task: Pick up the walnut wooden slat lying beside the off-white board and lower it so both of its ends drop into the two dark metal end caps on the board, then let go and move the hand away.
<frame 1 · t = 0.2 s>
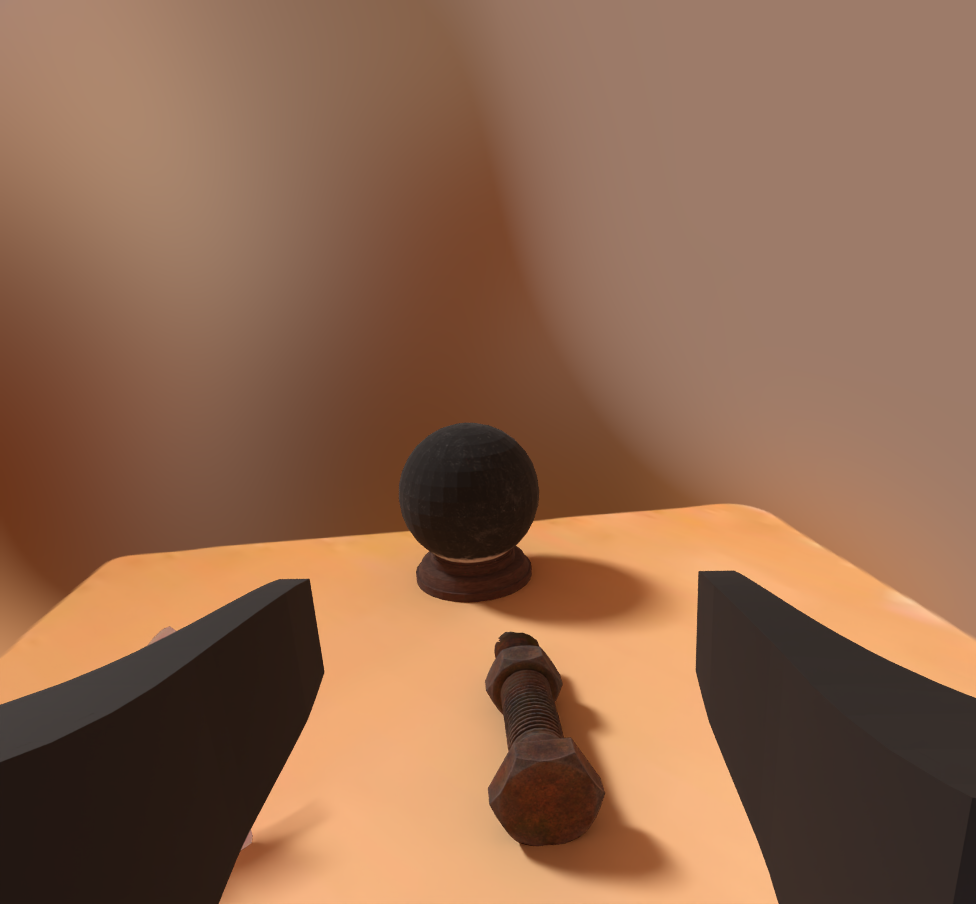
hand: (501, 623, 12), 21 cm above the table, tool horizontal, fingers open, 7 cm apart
black ball on stand: (474, 576, 62), on the table
bolt: (532, 745, 39), on the table
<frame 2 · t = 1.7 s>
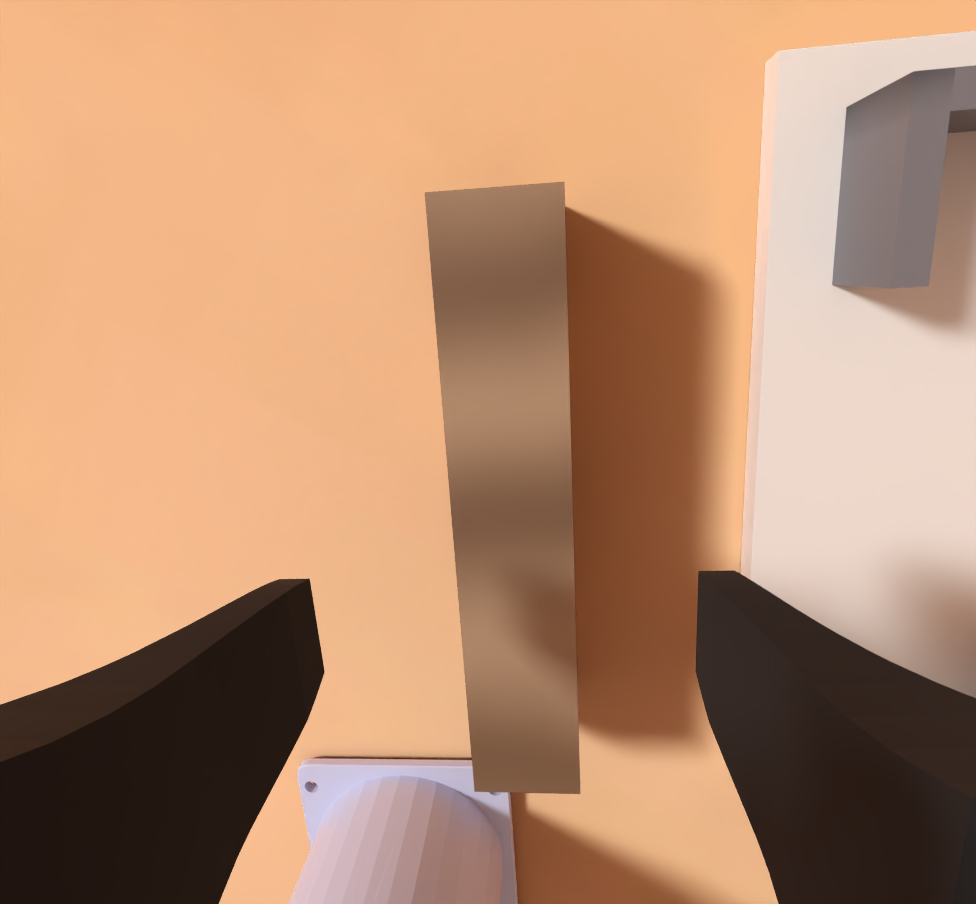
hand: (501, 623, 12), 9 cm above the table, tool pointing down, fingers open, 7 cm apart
slat: (520, 470, 20), on the table
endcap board: (917, 458, 19), on the table
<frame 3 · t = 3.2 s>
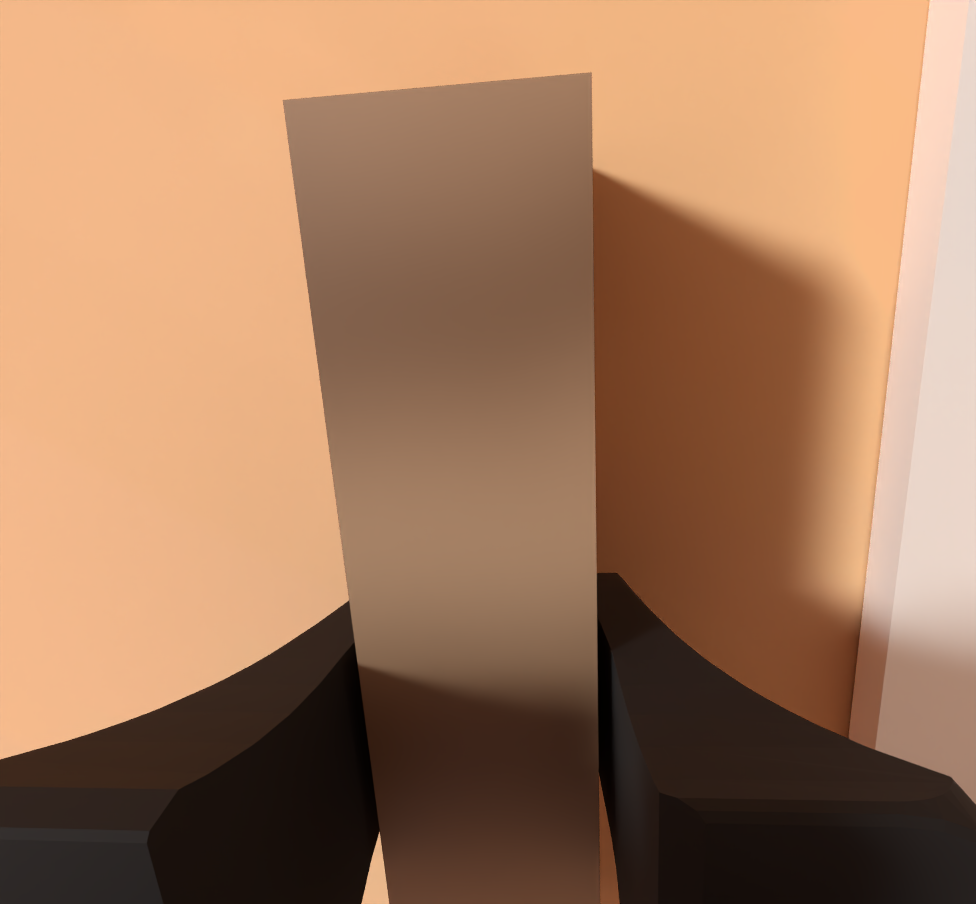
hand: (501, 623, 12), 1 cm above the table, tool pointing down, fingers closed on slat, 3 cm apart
slat: (505, 585, 13), on the table, touching gripper
when the fingers open (3 cm above the table, at t = 6.0 s): slat stays where it is, resting on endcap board.
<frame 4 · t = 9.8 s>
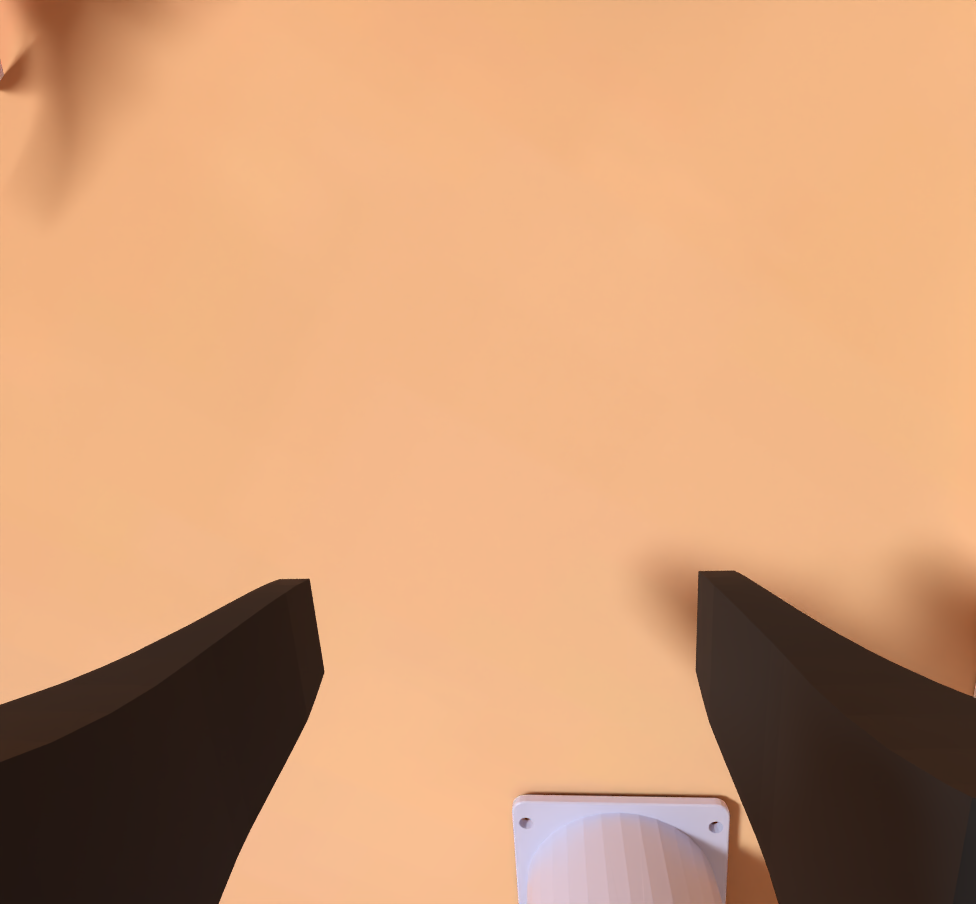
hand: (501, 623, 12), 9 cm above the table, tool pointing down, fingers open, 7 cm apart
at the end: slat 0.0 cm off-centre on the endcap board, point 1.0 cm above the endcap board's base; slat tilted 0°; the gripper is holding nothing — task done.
